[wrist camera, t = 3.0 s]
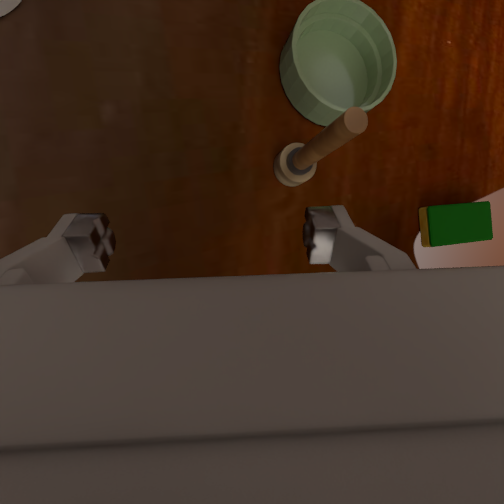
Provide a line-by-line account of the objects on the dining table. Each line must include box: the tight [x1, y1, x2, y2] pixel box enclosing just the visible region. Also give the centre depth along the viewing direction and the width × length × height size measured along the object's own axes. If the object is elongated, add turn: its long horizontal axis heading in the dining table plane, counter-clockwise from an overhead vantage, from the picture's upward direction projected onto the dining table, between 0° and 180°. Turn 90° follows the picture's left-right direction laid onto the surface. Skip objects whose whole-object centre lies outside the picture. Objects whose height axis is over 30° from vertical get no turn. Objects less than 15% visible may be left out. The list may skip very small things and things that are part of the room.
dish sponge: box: [419, 201, 493, 247], centre depth 56 cm, size 7×14×2 cm, turn 96°
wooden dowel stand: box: [273, 107, 368, 186], centre depth 40 cm, size 6×6×18 cm
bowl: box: [279, 0, 397, 126], centre depth 48 cm, size 17×17×6 cm
